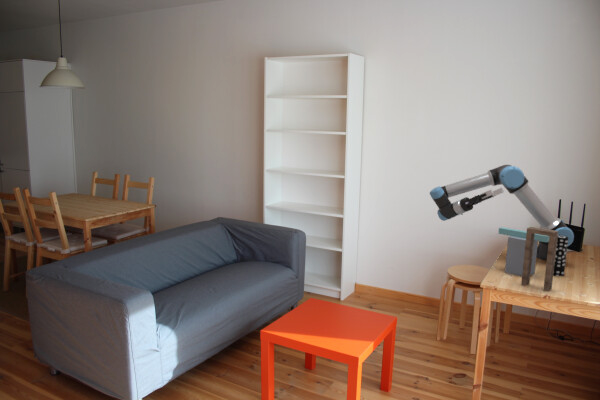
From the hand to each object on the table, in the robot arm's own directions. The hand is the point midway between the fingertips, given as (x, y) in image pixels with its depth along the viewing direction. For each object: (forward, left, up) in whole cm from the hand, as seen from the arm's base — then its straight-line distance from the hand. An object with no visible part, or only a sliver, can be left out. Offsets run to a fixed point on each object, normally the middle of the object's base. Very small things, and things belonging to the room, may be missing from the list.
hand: (497, 190), depth 248 cm
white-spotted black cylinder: (-13, +28, -42) cm, 52 cm away
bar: (0, +15, -23) cm, 27 cm away
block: (0, +15, -42) cm, 44 cm away
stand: (+17, +29, -42) cm, 54 cm away
